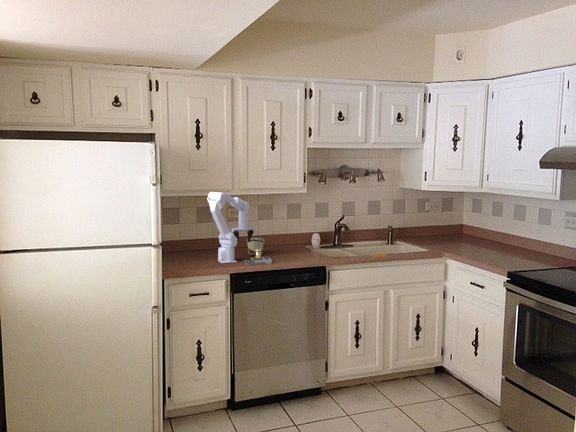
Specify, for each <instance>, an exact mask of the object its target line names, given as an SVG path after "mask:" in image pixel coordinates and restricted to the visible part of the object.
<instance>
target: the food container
mask: <svg viewBox="0 0 576 432" xmlns="http://www.w3.org/2000/svg"><path fill="white" fill-rule="evenodd" d="M246 242H247V252H248V255H254V254H256V251H255V249H261V256H263V254H264V253H263V252H264V244H265V243H266V242H265V239H264V238H262V237H251V240H250V242H248V238H247V239H246Z"/></svg>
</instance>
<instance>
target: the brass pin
mask: <svg viewBox="0 0 576 432" xmlns="http://www.w3.org/2000/svg"><path fill="white" fill-rule="evenodd" d="M255 251H256V255H255V257H254V258H255V260H260V259H261V257H262V255H261V249H255Z"/></svg>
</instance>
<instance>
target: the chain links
mask: <svg viewBox="0 0 576 432" xmlns="http://www.w3.org/2000/svg"><path fill="white" fill-rule="evenodd" d="M272 263H273V259H272V258H270V257H269V256H261V259H260V260H255V257H249V259H246V260H245V259H243V264H246V265H247V266H256V265H267V264H272Z"/></svg>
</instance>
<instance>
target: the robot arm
mask: <svg viewBox="0 0 576 432" xmlns="http://www.w3.org/2000/svg"><path fill="white" fill-rule="evenodd" d="M206 200H207V203H208V204H209V209H210V213H211V216H212V218H213V220H214V222H215V225H216V227H217V230H218V231H219V235H218V240H219V241H218V242H219V244H220V245H221V247H218V250H217V253H218V254H217V256H218V257H217V261H218V262H219V263H221V264H229V263H230V264H231V263H237V260H236V259H235V248H236V246H237V245H238V244H239V243H240V240H239V239H240V237H239V236H240V232H247V239H248V242H250V240H251V238H253V234H254V232H255V229H256V227H255V226H249V212H250V209H251V206H250V203H249V202H248V201H244V200H243V199H240V198H239V197H238V196H236V197H232V196H230V195H229V194H227V193H226V192H223V191H222V192H217V191H210V192H209V193H208V194H207V198H206ZM226 202H227V203H230V205H231V207H233V208H235V209H236V210H237V211H238V227H233V228H232V227H231V231H230V229H229V227H228V225H227V221H226V219H225V217H224V215H223V213H222V209H223V208H224V206H225V204H226Z"/></svg>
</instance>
